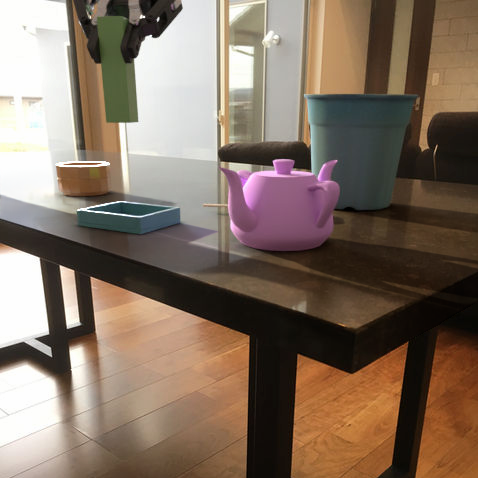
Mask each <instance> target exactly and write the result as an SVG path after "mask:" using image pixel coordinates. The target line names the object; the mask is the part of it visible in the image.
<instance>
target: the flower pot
mask: <svg viewBox="0 0 478 478" xmlns="http://www.w3.org/2000/svg"><path fill="white" fill-rule="evenodd" d="M303 97H304V98H305V99H306V103H307V122H308V124H309V126H310V155H311V157H310V158H311V163H310V164H311V173H313V174H314V175H315V176H316V177H317V179H318V176H319V173H320V171H321V169H322V167H323V165H324V164H325V163H327V162H329V161H332V160H337V163H336V164H335V166H334V167H333V170H332V172H331V181H334V182H336V183H338V185H339V188H340V193H339V198H338V201H337V204H336V206H335V208H334V210H341V211H342V210H344V209H346V208H352V209H354V211H379V210H383V209H385V208H388V207H389V206H391V203H392V198H393V192H394V188H395V183H396V179H397V174H398V169H399V163H400V157H401V154H402V149H403V144H404V139H405V135H406V129H407V127H408V126H409V124H410V121H411V117H412V114H413V113H412V112H413V109H414V104H415V101H416V100H417V99H418V98H419V94H405V93H404V94H400V93H399V94H397V93H395V94H394V93H393V94H392V93H390V94H388V93H307V94H305V93H304V94H303Z"/></svg>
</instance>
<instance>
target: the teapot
mask: <svg viewBox="0 0 478 478" xmlns="http://www.w3.org/2000/svg"><path fill="white" fill-rule="evenodd" d="M272 163H273V168H274V170H260V171H255V172H252V171H249V170H246V169H240V170H238V171H237V172H236V171H235V170H232V169H229V168H225V167H221V166H218V169H219V170H220V171H221V172H222V173H223V174H224V175H225V178H226V180H227V183H228V201H227V204H228V207H227V208H228V209H227V210H228V215H229V218H230V230H231V233H233V235H234V236H235V238H236V239H237V240H238V241H239V242H240V243H241V244H242V245H244V246H246V247H249V248H252V249H257V250H263V251H272V252H273V251H275V252H295V251H296V252H297V251H305V250H311V249H315V248H318V247H320V246H321V245H322V244H324V242H325V241H327V240H328V239H329V238H330V236H331V235H332V233H333V232H334V216H333V212H334V210H335V209H334V208H335V206H336V204H337V201H338V198H339V193H340V188H339V185H338V183H336V182H334V181H331V172H332V170H333V167H334V166H335V164H336V163H337V160H332V161H329V162H327V163H325V164H324V165H323V167H322V169H321V171H320V173H319V176H318V179H317V177H316V176H315V175H314V174H313V173H312V172H310V171H301V170H293V168H294V165H295V160H293V159H286V158H285V159H284V158H281V159H279V158H278V159H274V160H272Z"/></svg>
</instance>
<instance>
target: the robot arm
mask: <svg viewBox="0 0 478 478" xmlns="http://www.w3.org/2000/svg"><path fill="white" fill-rule="evenodd" d="M72 2H73V5H74V9H75V12H76V16H77V19H78V22H79V24H80V27H81V29H82V31H83V34H84V35H85V39H86V40H87V43H86V49H87V51H88V54H89V56H90V58H91V60H93V62H94V63H95V65H101V56H100V45H99V36H98V26H97V17H101V16H123V17H125V18H128V19H129V22H130V25H127V26H126V29H125V33H124V35H123V38H122V42H121V45H120V50H121V54H122V56H123V59H124V62H125V63H132V62H133V59H134V60H135V59H137V58H138V56H139V54H140V50H141V46H142V43H143V42H144V41H145V40H146V38H147V37H151V38H152V39H158V38H160V37H161V36H162V35H163V33H164V32H165V31H166V30H167V29H168V28H169V26H170V25H171V24H172V23H173V21H174V20H175V19H176V18H177V17H178V16H179V15H180V13H181V12H182V11H183V9H184V8H183V3H182V2H183V1H182V0H72ZM95 6H96V12H95V14H94V9H95ZM92 16H93V17H92Z"/></svg>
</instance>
